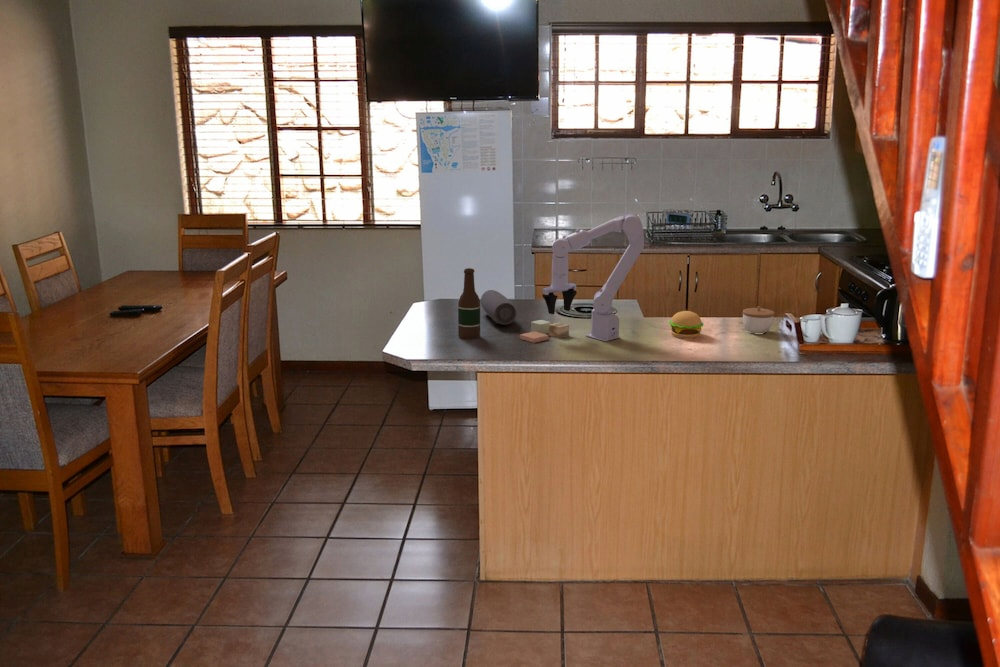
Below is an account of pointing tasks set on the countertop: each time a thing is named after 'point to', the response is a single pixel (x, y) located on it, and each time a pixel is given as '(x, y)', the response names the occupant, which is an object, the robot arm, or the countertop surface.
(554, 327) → the maple block
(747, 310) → the lidded jar
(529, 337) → the plinth
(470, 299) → the beer bottle
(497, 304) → the bluetooth speaker
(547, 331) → the sage block
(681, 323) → the hamburger
